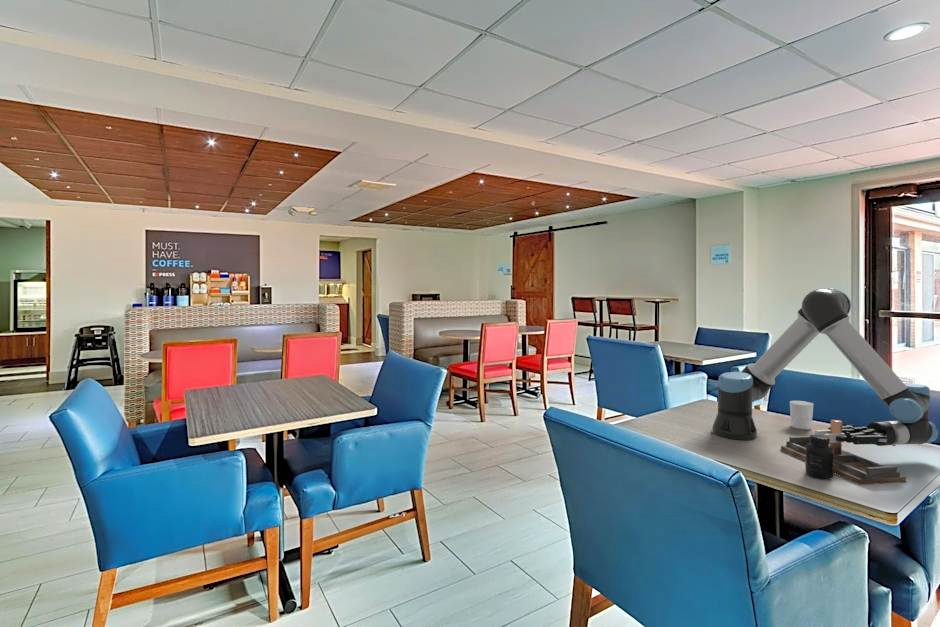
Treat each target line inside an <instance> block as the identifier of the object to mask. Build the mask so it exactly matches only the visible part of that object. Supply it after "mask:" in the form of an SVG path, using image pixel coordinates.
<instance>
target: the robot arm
mask: <svg viewBox="0 0 940 627" xmlns="http://www.w3.org/2000/svg"><path fill="white" fill-rule="evenodd" d="M851 308H852V302H851V299H850V298H849V296H848V294H846V293H845V292H843V291H842V290H839V289H836V288H823V289H822V288H819V289H814V290H812V291H811V292H810V291H809V293H808V294H806V295H805V296H804V298H803V299H802V302H801V308H800V309H799V310H798V311H797V312H796V313H797V318H796V319H795V320H794V321H793V323H792V324H791V325H789V327H788V328H787V329H786V330H784V332H782V334H781V335H780V336H779V337H778V338H777V339H776V341H774V342H773V344H772V345H771V346H770V347H769V348H768V349H767V350H765V352H764V353H763V354H762V356H760V357H759V358H758V359H757V360H756V362H754V363H748V364H746V366H745V367H743V369H742V370H741V371H730V372H728V371H727V372H723V373H721V374H720V375H719V376H718V381H717V414H716V416H715V419H714V421H713V425H712V433H713V434H714V435H717V436H719V437H722V438H725V439H731V440H739V441H740V440H741V441H743V440H744V441H746V440H747V441H749V440H755V439H756V438H758V430H757V426H756V425H755V424H756V423H755V421H754V418H753V403H754V402H757V401H760V400H761V399H764V398H765V397H766V396H767V395H768V392H770V389H771V388H773V386H774V385H776V377H777V376H778V375H779V374H781V372H783V370H785V369H786V367H787V366H788V365H789V364H790V363H792V361H794V359H795V358H796V357H797V356H798V355H800V353H801V352H803V350H804V349H805V348H806V347H807V346H808V345H809V344H810V343H811V342H812V341H813V340H814V339H816V338H817V336H818V335H819V334H823V335H826V336H827V338H828V339H830V341H831V342H832V343H833V344H834V345H835V347H837V349H838V350H839V352H841V353H842V355H843V356H844V357H845V358H846V360H847V361H848V362H849V363H850V364H851V365H852V366H853V368H854V369H855V370H856V371H857V372H858V373H859V375H860V376H861V377H862V379H864V380H865V381H866V383H867V384H868V385H869V386H870V387H871V389H872V390H873V391H874V392H875V394H877V396H879V398H880V399H881V400H882V402H884V404H885V405H886V406H887V408H888V412H889V414H890V416H891V417H892V418H893V419H894V420H885V421H873V422H872V421H871V422H869V423H868V424H867V425H866V426H860V427H858V426H857V427H854V426H853V425H852V424H847V425H842V433H833V434H830V426H829V427H827V428H828V429H820V430H814V434H815V435H823V436H827V437H829V438H830V443H837V442H842V443H845V442H846V443H847V444H850V443H852V444H853V445H875V446H878V447H882V446H892V447H896V446H898V445H899V446H900V445H922V444H928V443H929V444H930V443H933V442H934V441H936V440H937V439H938V436H939V430H938V429H937V426H936V425H935V424H934V423H933V422H932V421H930V404H931V390H930V387H929V386H927V385H923V384H919V383H905V382H903V381H902V379H901V378H900V377H899V376H898V375H897V373H895V372H894V371H893V369H891V367H890V366H889V365H888V364H887V363H886V362H885V360H884V359H883V358H882V357H881V356H880V355H879V354H878V353H877V351H876V350H875V349H874V348H873V347H872V345H870V343H869V342H867V340H866V339H865V338H864V337H863V336H862V335H861V333H860V332H859V331H858V330H857V329H856V328H855V326H853V325H852V323H851V322H850V316H849V315H848V314H849V313H850V311H851Z"/></svg>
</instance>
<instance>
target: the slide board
mask: <svg viewBox="0 0 940 627" xmlns="http://www.w3.org/2000/svg"><path fill="white" fill-rule="evenodd" d="M809 443H811V442H810V435H806V436H805V435H803V436H789V439H788V440H786V443H785V444H786V445H781V446H780V451H783V452H784V451H785V453H786V454H789V455H791V454H792V455H791V456H793V455H794V456H793V457H796V456H797V458H798V457H799V459H800V458H801V459H800V460H802V459H803V461H805V460H806V445H807V444H809ZM829 446H830V444H829ZM854 455H855V461H850V462H839V461H836V460H834V459H833V474H834V473H836V474H838V475H837V476H839V475H840V476H839V477H841V476H842V477H841V478H843V477H844V478H843V479H845V480H848V481H850V480H851V481H850V482H852V481H853V483H855V484H857V485H874V484H876V483H877V484H889V483H890V484H891V483H893V484H894V483H905V482H906V483H907V477H906V475H902V474H901V471H898V466H895V465H882V464H880V463H878V462H874V461H872V460H869V459H868V458H864V457H861V456H858V455H856V454H854ZM836 474H835V475H836Z"/></svg>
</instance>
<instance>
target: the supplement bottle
mask: <svg viewBox="0 0 940 627" xmlns="http://www.w3.org/2000/svg"><path fill="white" fill-rule="evenodd" d="M809 436H810V442H811V443H809V444H807V445H806V461H805V460H804V461H805V464H804V465H805V468H804V469H805V474H806V475H807V476H808V477H811V478H815V479H817V480H818V479H819V480H832V479H833V476H834V473H833V457H834V451H833V449H832V447H830V446H829V445H830V438H829V437H827V436H823V435H815V433H814V434H810V435H809Z"/></svg>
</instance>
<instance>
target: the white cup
mask: <svg viewBox="0 0 940 627" xmlns="http://www.w3.org/2000/svg"><path fill="white" fill-rule="evenodd" d="M789 413H790V426H791V427H792V428H794V429H798V430H799V429H800V430H810V429H812V424H813V414H814V403H813V402H809V401H806V400H805V401H804V400H790V401H789Z"/></svg>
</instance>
